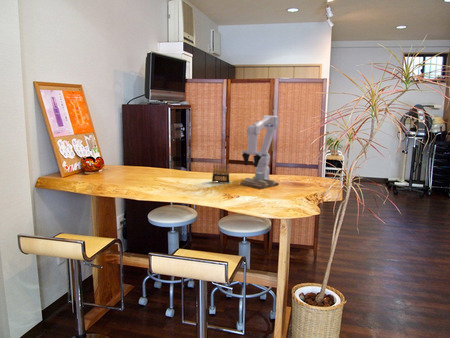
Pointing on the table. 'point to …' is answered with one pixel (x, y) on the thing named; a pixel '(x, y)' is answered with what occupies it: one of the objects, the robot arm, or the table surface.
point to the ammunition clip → (220, 173)
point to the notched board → (259, 183)
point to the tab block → (259, 176)
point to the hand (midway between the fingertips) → (250, 166)
